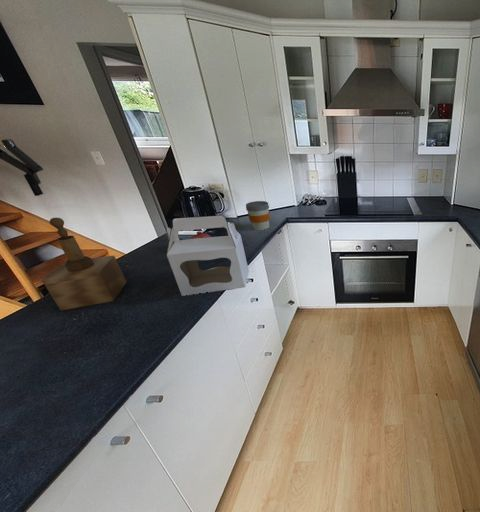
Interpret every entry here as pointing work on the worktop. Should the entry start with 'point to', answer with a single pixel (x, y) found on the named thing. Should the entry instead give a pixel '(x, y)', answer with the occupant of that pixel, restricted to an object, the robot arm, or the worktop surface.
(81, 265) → the mortar and pestle
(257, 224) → the reusable coffee cup
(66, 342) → the worktop surface
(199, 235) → the butter dish
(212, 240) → the gable box
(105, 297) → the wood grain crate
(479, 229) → the worktop surface
